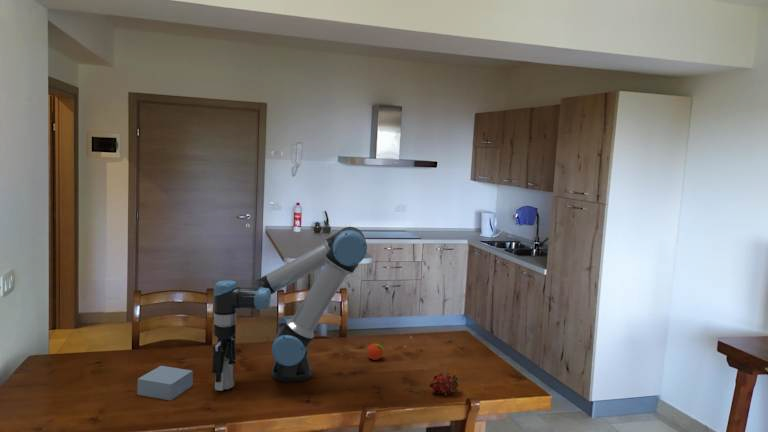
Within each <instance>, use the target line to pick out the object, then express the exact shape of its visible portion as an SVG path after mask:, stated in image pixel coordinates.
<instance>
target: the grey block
mask: <svg viewBox="0 0 768 432" xmlns="http://www.w3.org/2000/svg"><path fill="white" fill-rule="evenodd" d="M193 372H194V371H193V370H190V369H184V368H179V367H172V366H165V365H159V366H157V367H156V368H154V369H152V370H150V371H149V372H147V373H145V374H143V375H142V376H140V377H138V378H137V386H136V388H137V390H136V393H137V394H136V395H138V396H142V397H149V398H155V399H160V400H165V401H170V402H171V401H172V400H174V399H175V398H177V397H178V396H180V395H182V394H183V393H184V392H186V391H187V390H188V389H190V388H191V387H193V382H194V381H193V376H194V375H193V374H194V373H193Z"/></svg>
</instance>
